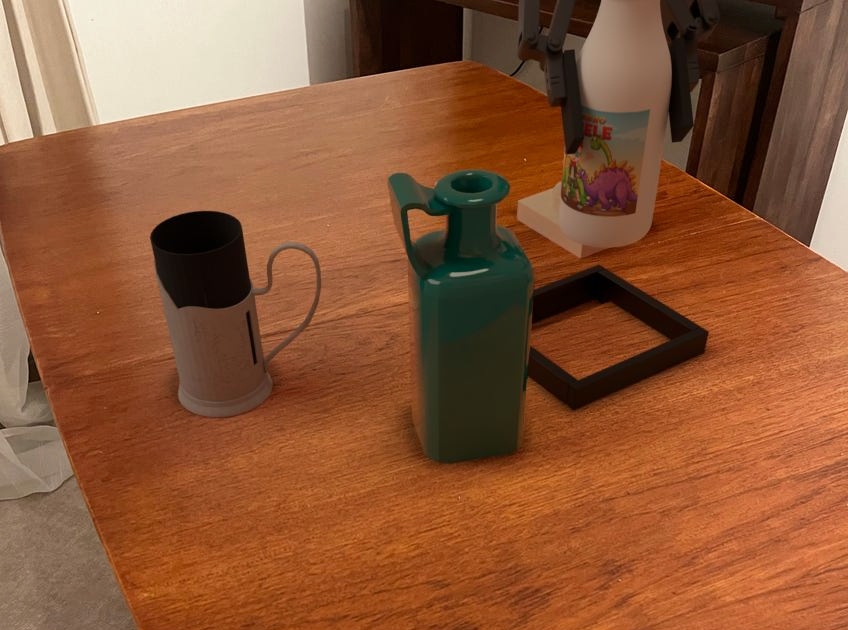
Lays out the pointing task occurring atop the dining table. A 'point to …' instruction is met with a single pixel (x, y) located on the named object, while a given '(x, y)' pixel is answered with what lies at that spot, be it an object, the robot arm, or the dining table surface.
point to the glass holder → (216, 312)
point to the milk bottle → (618, 127)
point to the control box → (550, 220)
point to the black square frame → (578, 393)
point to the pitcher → (465, 317)
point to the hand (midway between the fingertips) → (628, 140)
